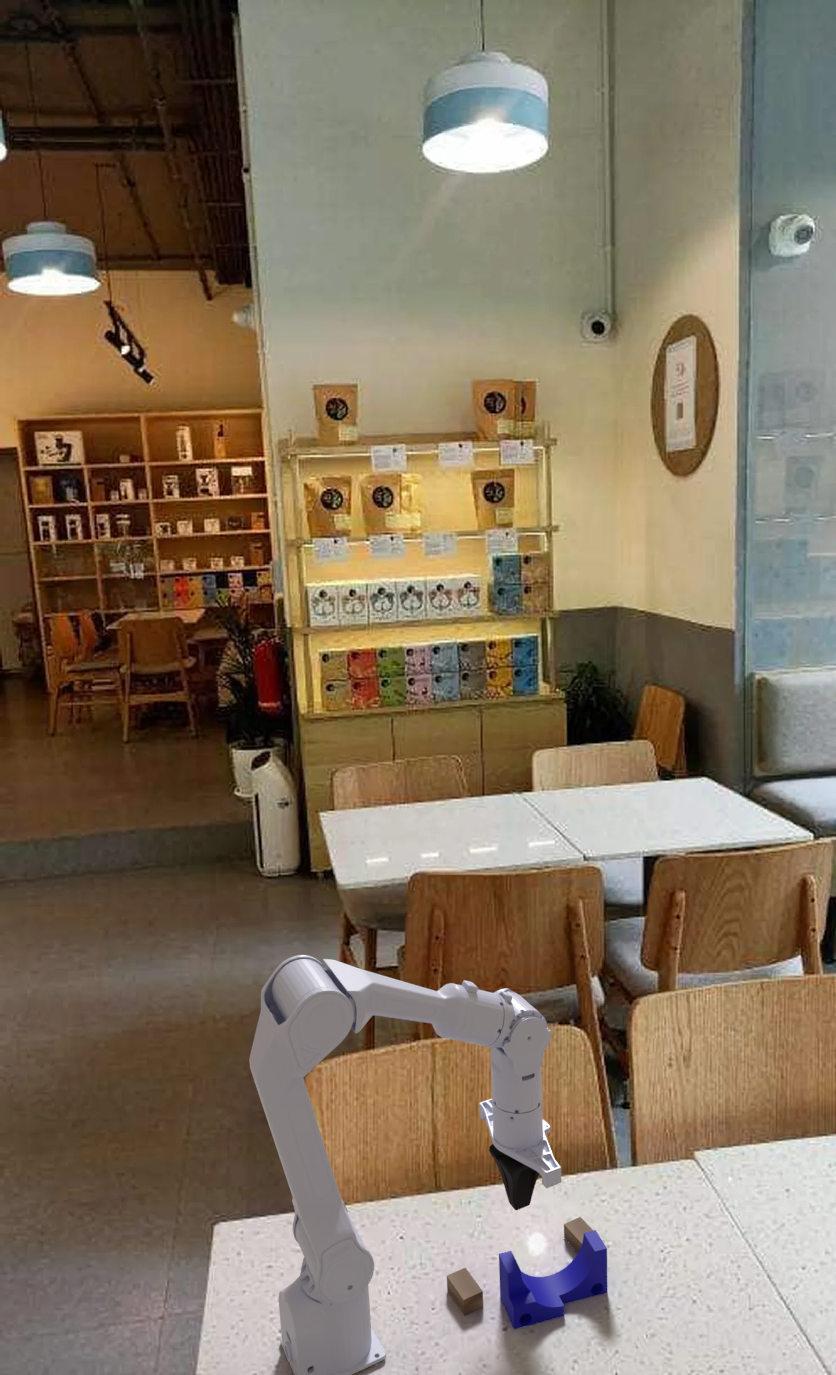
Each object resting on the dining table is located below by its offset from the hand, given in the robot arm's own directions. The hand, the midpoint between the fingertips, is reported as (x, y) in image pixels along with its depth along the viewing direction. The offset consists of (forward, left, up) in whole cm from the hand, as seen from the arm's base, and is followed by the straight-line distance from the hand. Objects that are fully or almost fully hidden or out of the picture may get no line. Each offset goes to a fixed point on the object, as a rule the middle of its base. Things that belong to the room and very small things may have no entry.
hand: (519, 1204), depth 111 cm
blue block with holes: (+1, -5, -10) cm, 11 cm away
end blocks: (+1, 0, -9) cm, 9 cm away
